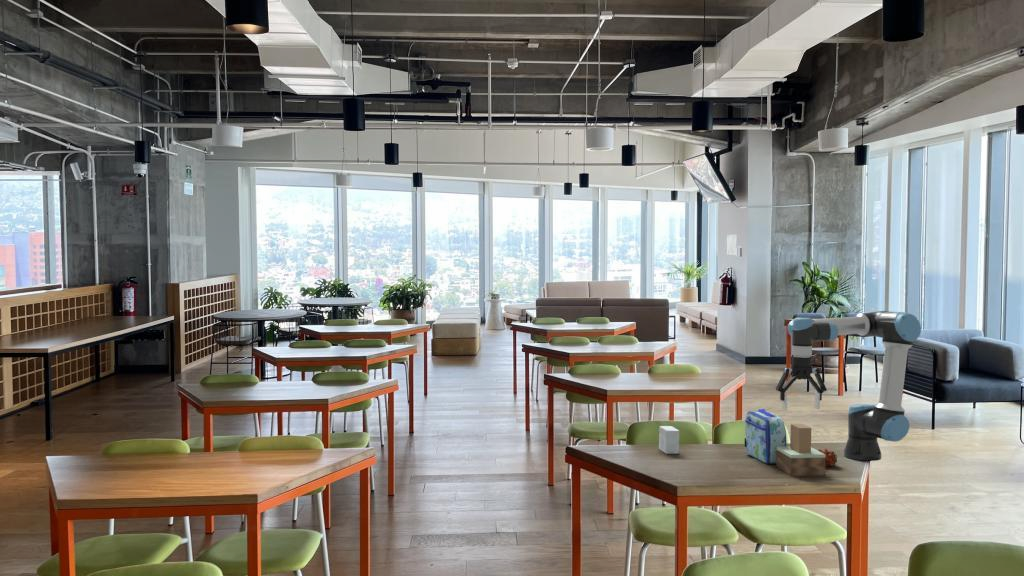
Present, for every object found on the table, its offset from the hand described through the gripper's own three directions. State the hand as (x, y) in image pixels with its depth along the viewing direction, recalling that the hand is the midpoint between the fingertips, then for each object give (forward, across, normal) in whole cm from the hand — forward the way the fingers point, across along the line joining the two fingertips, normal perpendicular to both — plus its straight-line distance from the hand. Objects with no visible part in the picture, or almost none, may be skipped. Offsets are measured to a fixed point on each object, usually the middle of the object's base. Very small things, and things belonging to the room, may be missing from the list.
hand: (800, 408), depth 320 cm
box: (+26, 0, 0) cm, 26 cm away
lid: (+18, 0, 0) cm, 18 cm away
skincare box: (+27, +43, -40) cm, 64 cm away
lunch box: (+26, +6, -22) cm, 35 cm away
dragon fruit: (+26, -13, -7) cm, 30 cm away
